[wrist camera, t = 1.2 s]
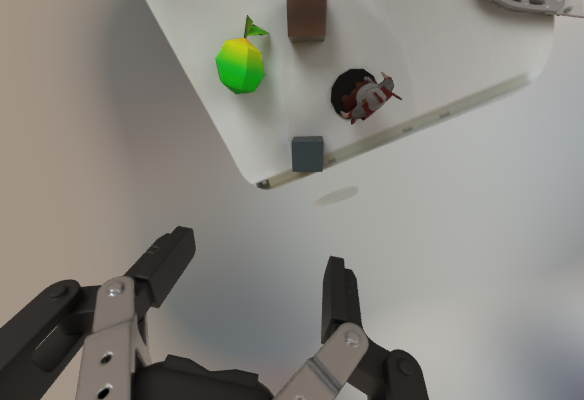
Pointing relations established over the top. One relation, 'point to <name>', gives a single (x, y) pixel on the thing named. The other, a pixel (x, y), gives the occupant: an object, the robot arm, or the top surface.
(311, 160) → the slate block
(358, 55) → the top surface
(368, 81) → the figurine
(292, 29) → the walnut block
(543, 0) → the knife
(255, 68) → the apple
